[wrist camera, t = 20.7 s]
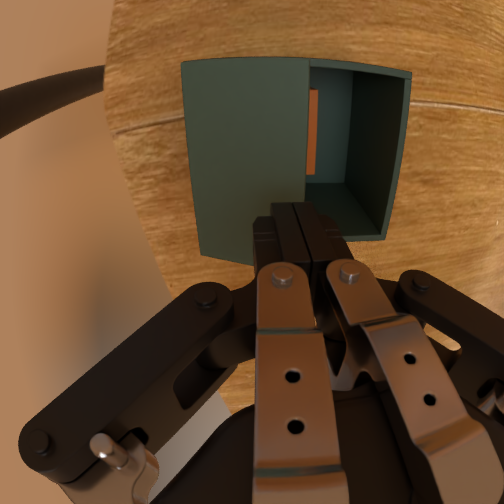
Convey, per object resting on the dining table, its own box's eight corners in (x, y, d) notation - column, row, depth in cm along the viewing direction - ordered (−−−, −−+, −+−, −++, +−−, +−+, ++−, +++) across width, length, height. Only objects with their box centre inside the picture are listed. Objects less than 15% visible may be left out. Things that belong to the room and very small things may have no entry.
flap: (203, 251, 20) (200, 255, 20) (184, 62, 13) (180, 62, 13) (298, 270, 19) (297, 275, 18) (310, 59, 12) (308, 59, 11)
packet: (257, 163, 27) (260, 176, 24) (255, 85, 23) (258, 89, 20) (307, 162, 27) (314, 174, 24) (309, 85, 23) (318, 89, 20)
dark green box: (210, 188, 28) (201, 248, 21) (201, 59, 21) (182, 61, 14) (346, 185, 29) (385, 240, 21) (356, 62, 22) (412, 72, 14)
